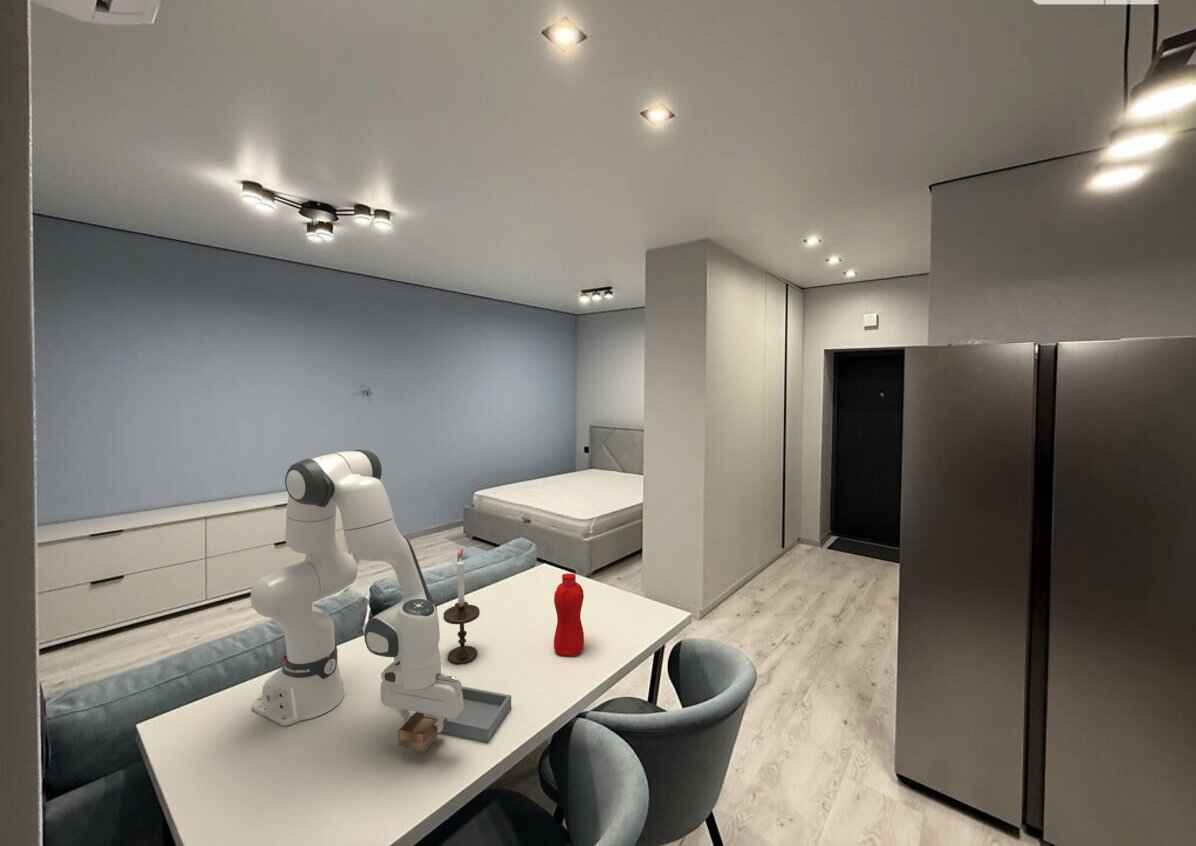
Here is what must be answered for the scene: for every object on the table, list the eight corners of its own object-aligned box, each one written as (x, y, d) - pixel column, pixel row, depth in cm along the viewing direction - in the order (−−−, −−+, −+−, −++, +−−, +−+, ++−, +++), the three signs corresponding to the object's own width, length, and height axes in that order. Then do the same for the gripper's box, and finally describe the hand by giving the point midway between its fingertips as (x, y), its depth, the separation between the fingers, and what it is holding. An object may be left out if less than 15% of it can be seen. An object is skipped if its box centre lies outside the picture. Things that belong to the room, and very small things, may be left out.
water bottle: (585, 639, 163) (585, 567, 161) (581, 658, 153) (581, 581, 150) (558, 638, 164) (558, 566, 162) (552, 656, 154) (551, 579, 151)
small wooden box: (398, 745, 112) (397, 730, 111) (422, 719, 120) (421, 705, 120) (424, 751, 110) (423, 736, 109) (446, 724, 118) (446, 710, 118)
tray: (415, 727, 122) (415, 714, 122) (444, 694, 135) (444, 682, 135) (488, 743, 117) (487, 729, 117) (511, 707, 130) (511, 695, 129)
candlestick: (478, 644, 160) (476, 540, 157) (481, 662, 150) (479, 552, 147) (444, 650, 157) (441, 544, 154) (444, 669, 147) (441, 556, 143)
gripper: (468, 669, 114) (469, 725, 115) (392, 657, 119) (395, 710, 120) (453, 686, 108) (455, 745, 109) (374, 672, 113) (377, 728, 114)
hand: (423, 727), depth 115 cm, fingers closed on small wooden box, 7 cm apart
